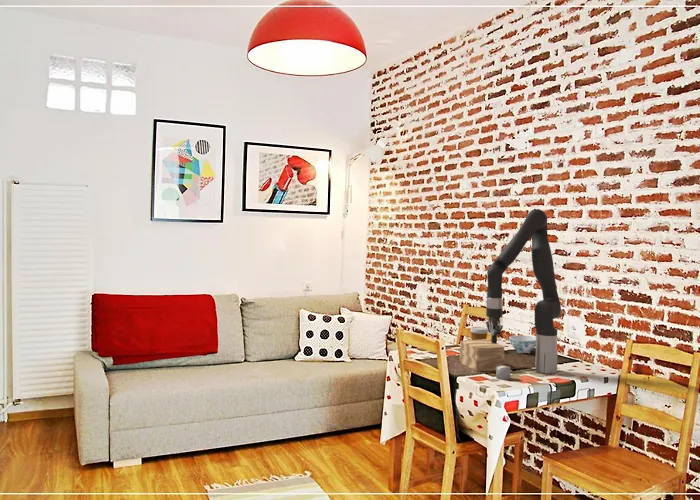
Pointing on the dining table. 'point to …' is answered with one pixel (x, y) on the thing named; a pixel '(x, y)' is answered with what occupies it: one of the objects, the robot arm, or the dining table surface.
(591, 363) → the dining table surface
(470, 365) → the wooden box
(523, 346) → the chinaware
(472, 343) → the box lid
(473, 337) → the disposable coffee cup
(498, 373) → the grey rounded block
